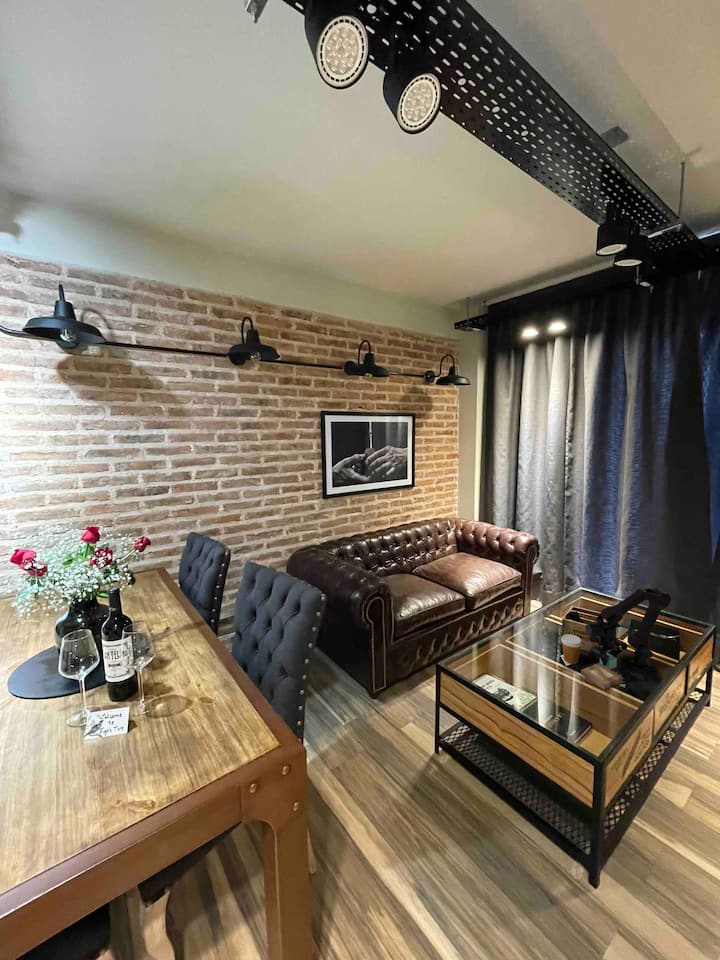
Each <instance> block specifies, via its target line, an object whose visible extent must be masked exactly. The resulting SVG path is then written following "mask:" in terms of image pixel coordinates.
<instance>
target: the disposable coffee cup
mask: <svg viewBox="0 0 720 960" xmlns="http://www.w3.org/2000/svg"><path fill="white" fill-rule="evenodd" d="M560 642H561V645H562V653H563V655H562V656H563V661H565V663H567V662H568V663H567V664H569V663H571V664H570V665H576V663H577V664H578V663H579V658H580V653H581V647H582V645H583V641H582V639H581V638H580V637H579V636H577V635H574V634H572V633H571V634H569V633H567V634H563V635H562V636H561V638H560Z"/></svg>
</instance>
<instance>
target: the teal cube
mask: <svg viewBox="0 0 720 960" xmlns="http://www.w3.org/2000/svg"><path fill="white" fill-rule="evenodd" d="M607 655H609V656H610V657H609V659H608V661H607V664H606V666H605V667H607V668H608V669H610V670H614V669H616V668H617V661H618V660H617V658H618V657H617V658H616V657H614V656H612V655H611V654H610V652H609V653H607ZM599 663H600V664H602V661H601V658H599ZM602 665H603V664H602ZM603 666H604V665H603Z"/></svg>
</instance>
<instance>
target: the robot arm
mask: <svg viewBox="0 0 720 960" xmlns="http://www.w3.org/2000/svg"><path fill="white" fill-rule="evenodd" d="M645 601H648V607H647V609H646V610H645V613H644V616H643V618H642V620H641V622H640V623H639V626H638V628H637V630H636V631H634V632H632V631H630V632H629V634H628V636H627V638H626V639H627V643H628V644H627V643H626V642H625V641H623V640H621V639H619V638H618V637H617V628H622V625H621V624H620V623H619V622H620V621H621V620H623V618H624V615H625V614H627V613H628V612H629V611H631V610H632V609H634V608H636V607H637V606H638V605H640V604H642V603H643V602H645ZM670 603H672V596H671V595H670V594H669V593H667V592H666V591H664V590H662V589H661V588H659V587H654V588H648V587H647V588H637V589H636V590H635V592H633V593H632V594H630V595H629V596H627V597H626V598H624V599H623V600H622V601H620V602H619V603H617V604H614V605H608V606H607V607H604V608H603V609H602V610H601V611H600V613H599V615H597V617H596V618H595V621H594V622H593V621H588V622H587V624H585V626H584V628H585V629H584V630H585V633H586V635H587V637H588V639H589V642H591V643H592V644H593V643H596V644H598V645H599V646H601V647H599V646H598V645H596V646H593V647H591V648H589V653H590V654H592V655H593V656H595V657H597V658H599V659H600V658H601V661H602V664H603V665H604V666H606V664H607V661H608V659H609V657H610V656H609V655H607V653H608V652H609V654H611V655H612V656H614V657H616V658H618V657H619V656H620V654H622V653H623V651H625V650H628V645H629V646H630V648H631V649H632V650H633V651H634V652H633V658H632V660H630V663H631V664H633V665H635V666H636V667H638V668H640V669H642V670H645V669H647V668H650V667H652V666H653V664H651V663H650V661H649V660H650V658H653V657H654V652H653V651H651V650H650V649H649V648H650V644H651V643H650V635H651V633H652V631H653V628H654V626H655V624H656V622H657V620H658V618H659V615H660V613H661V611H662V610H665V609H667V607H668V606H669V605H670ZM620 647H621V648H620Z"/></svg>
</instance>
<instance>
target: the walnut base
mask: <svg viewBox="0 0 720 960" xmlns="http://www.w3.org/2000/svg"><path fill="white" fill-rule="evenodd" d="M580 675H581V676H582V677H584V678H586V679H587V680H588V679H589V680H588V681H590V682H591V681H592V684H595V685H596V686H598V687H599V688H601V689H602V690H604V691H605V690H607V689H610V688H612V687H614V686H617V685H619V684H621V683H623V678H624V677H623V676H621V675H620V674H618V673H617V672H615V671H613V669H611V670H610V669H608V668H607V667H605V666H603V665H602V664H600V662H598V663H595V664H593V665H589V666H588V667H585V668H582V669H581V670H580ZM620 682H621V683H620ZM618 683H619V684H618ZM616 684H617V685H616ZM611 686H612V687H611ZM609 687H610V688H609Z"/></svg>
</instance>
